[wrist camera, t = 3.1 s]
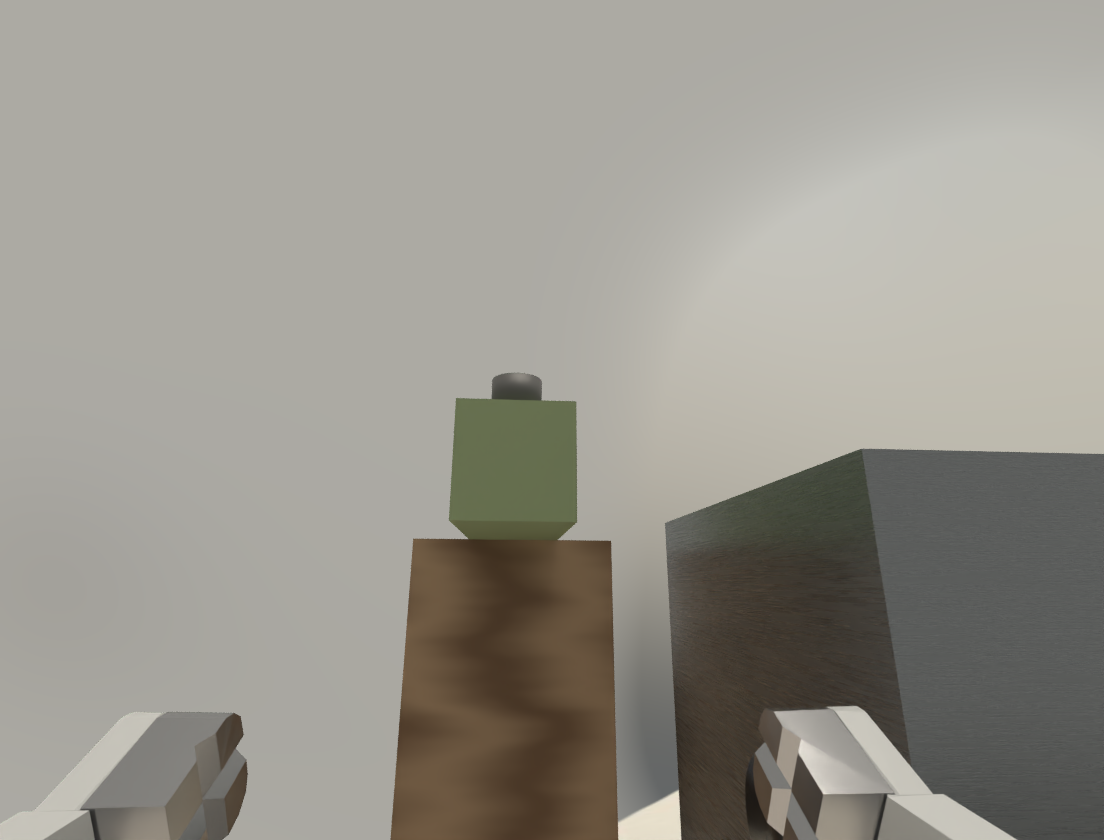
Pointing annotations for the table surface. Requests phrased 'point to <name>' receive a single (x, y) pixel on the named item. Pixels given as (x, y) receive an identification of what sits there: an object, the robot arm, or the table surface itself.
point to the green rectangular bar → (514, 463)
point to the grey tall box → (901, 630)
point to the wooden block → (508, 693)
